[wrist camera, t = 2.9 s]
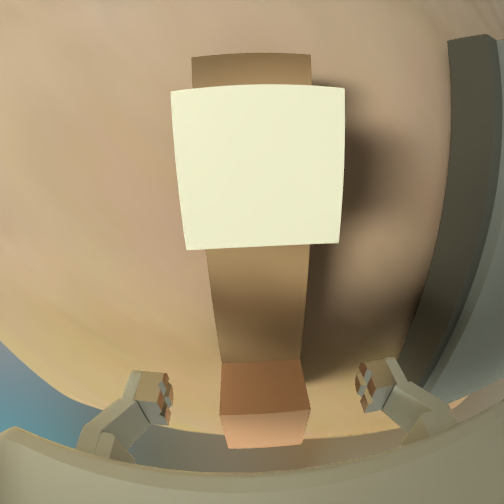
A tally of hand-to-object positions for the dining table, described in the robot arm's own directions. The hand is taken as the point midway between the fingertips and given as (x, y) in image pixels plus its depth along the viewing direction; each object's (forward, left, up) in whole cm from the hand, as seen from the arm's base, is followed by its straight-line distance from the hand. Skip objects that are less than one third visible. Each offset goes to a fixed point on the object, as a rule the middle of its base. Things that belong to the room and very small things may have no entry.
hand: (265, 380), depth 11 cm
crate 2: (+7, 0, -5) cm, 9 cm away
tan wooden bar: (-1, 0, -9) cm, 9 cm away
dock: (-2, +22, -9) cm, 24 cm away
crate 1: (-8, 0, -5) cm, 10 cm away
